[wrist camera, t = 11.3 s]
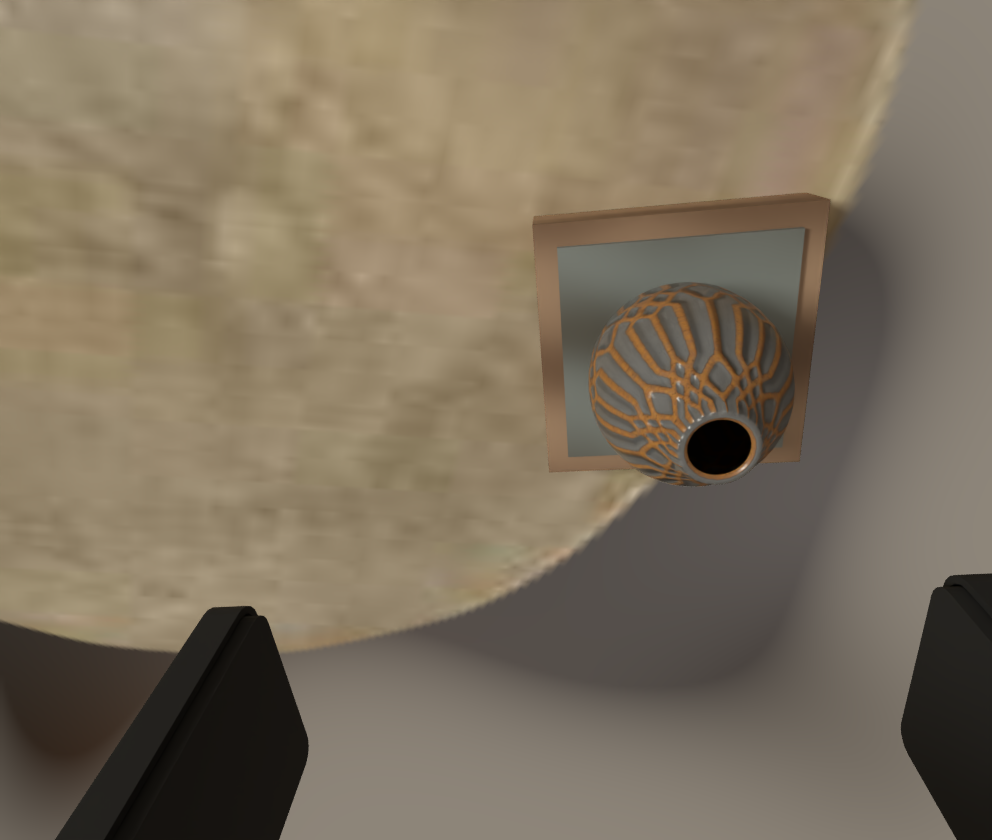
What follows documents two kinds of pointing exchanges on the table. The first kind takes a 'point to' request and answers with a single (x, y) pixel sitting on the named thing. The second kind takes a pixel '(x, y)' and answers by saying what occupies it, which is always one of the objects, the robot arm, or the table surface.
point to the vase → (691, 384)
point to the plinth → (660, 261)
